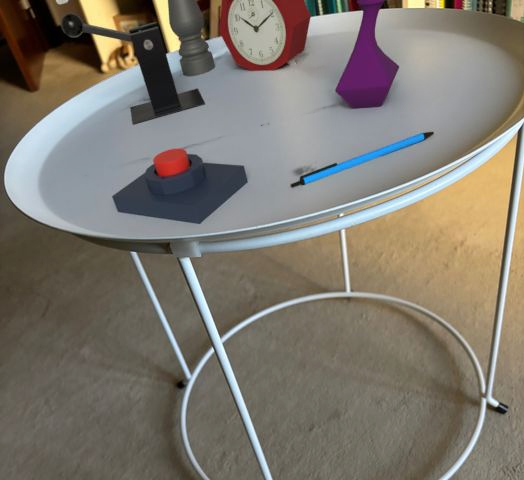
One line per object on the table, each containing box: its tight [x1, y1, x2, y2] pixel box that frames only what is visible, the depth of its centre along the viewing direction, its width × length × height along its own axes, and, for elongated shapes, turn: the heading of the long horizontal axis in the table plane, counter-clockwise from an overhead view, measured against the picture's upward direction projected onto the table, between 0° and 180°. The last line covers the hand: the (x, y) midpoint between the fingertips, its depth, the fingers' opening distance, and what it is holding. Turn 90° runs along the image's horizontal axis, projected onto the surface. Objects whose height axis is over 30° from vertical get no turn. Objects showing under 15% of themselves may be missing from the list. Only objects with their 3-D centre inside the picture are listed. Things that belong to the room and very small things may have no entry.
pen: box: [290, 131, 436, 188], centre depth 69 cm, size 1×19×1 cm, turn 112°
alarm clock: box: [218, 0, 312, 72], centre depth 98 cm, size 15×9×20 cm, turn 58°
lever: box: [60, 12, 143, 43], centre depth 89 cm, size 14×3×3 cm, turn 102°
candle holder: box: [167, 0, 216, 77], centre depth 103 cm, size 6×6×25 cm
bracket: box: [128, 21, 206, 126], centre depth 94 cm, size 12×9×13 cm
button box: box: [111, 153, 249, 225], centre depth 71 cm, size 13×10×4 cm
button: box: [152, 148, 190, 176], centre depth 69 cm, size 4×4×2 cm
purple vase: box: [334, 0, 400, 109], centre depth 78 cm, size 8×8×18 cm
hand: (64, 2), depth 86 cm, fingers closed
